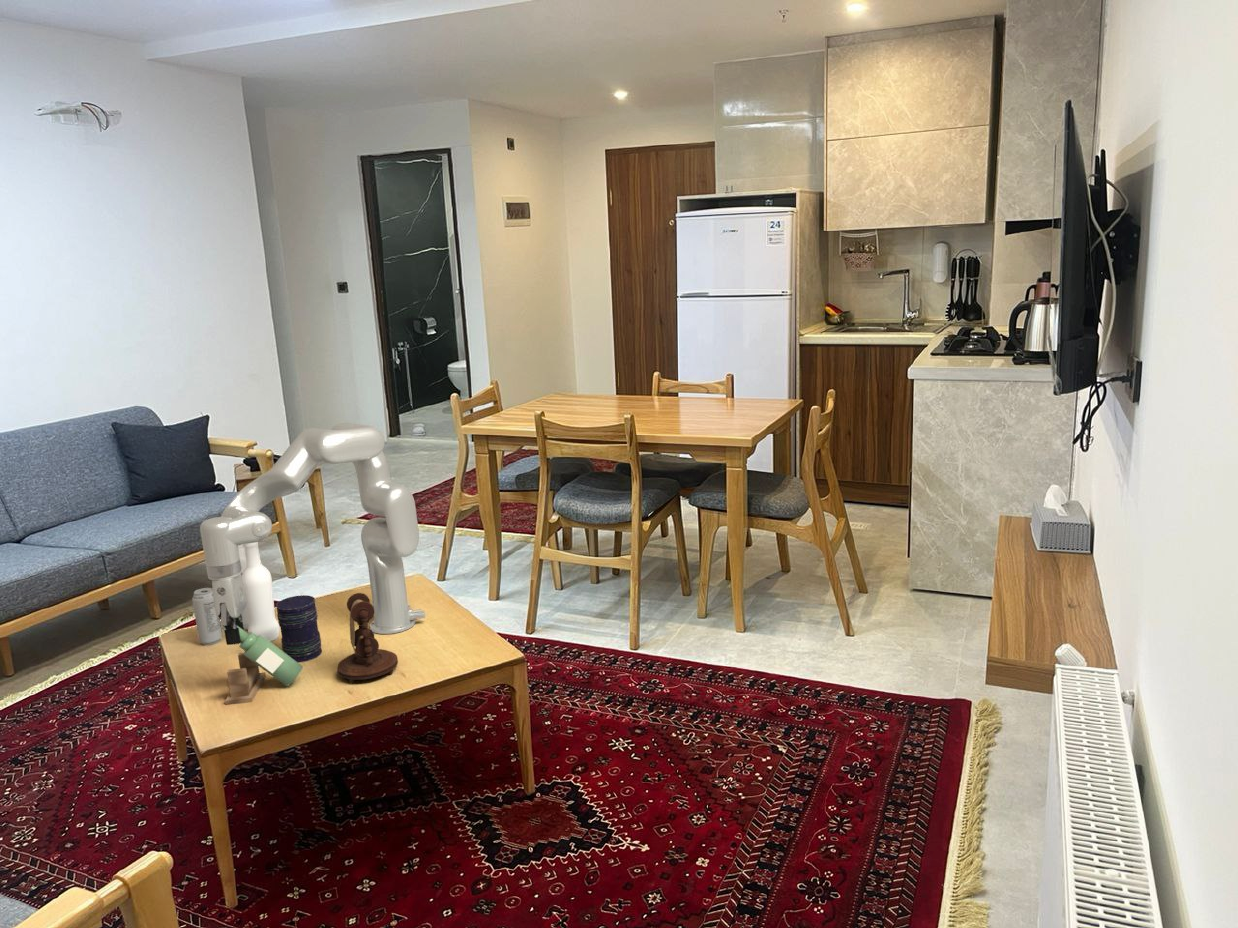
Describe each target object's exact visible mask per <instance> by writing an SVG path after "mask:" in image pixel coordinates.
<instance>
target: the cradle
mask: <svg viewBox="0 0 1238 928" xmlns="http://www.w3.org/2000/svg"><path fill="white" fill-rule="evenodd" d="M243 654H244V652H240V653H238V655H237V658H238V665H239V668H233V669H232V668H231V669H228V670H227V673H226V675H227V681H228V685H229V686H228V687H229V693H228V695H227V697H226V699H225V700H224V701H225V705H226V706H227V705H235V704H236V705H237V704H244V703H252V702H253V701H254V699H255V697H256V695H257V693H258V691H259V690H260V687H261V686H262V684H263V682H264V681H265V679H266V676H267V675H266V674H267V672H266V671H265V672H260V666H258V665H257V664H256V663H254V662H253V661H252V660H250V659H249V658H248V657H246V656H245V655H243Z"/></svg>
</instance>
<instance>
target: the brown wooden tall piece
mask: <svg viewBox="0 0 1238 928" xmlns="http://www.w3.org/2000/svg"><path fill="white" fill-rule="evenodd" d="M346 608H347V610H348V611H349V612H350V613H349V636H350V644H351V646H352V649H353V653H352V654H349V655H348V656H346V657H345V658H343V659H342V660H340V662H339V663H338V664H337V666H336V668H337V669H336V670H337V674H338V675H339V676H340V677H341V678H344V679H347V680H349V682H350V683H351V684H354V682H355V681H357V680H358V681H360V680H370V679H373V678H378V677H380V676H384V675H385V674H389V675H390V676H392V674H393V670H394V669H395V668H396V667H397V665H398V663H399V660H398V659H399V658H398V656H397V654H396V653H394V652H392V651H390V650H386V649H382V648H380V645H379V641H378V640H377V638H375V632H373V631H372V630H371V629H370V627H369V624H370V623H371V620H372V619H373V618H374V607H373V603H371V600H370V598H369V596H368V595H367V594H365V593H363V592H356V593H353V594H352V595H350V597H348V599H347V601H346ZM355 623H356V624H357V625H358V628H357V629H355V628H356V626H355Z"/></svg>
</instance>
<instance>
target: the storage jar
mask: <svg viewBox="0 0 1238 928" xmlns="http://www.w3.org/2000/svg"><path fill="white" fill-rule="evenodd" d="M275 607H276V611H277V614H276V615H277V617H276V618H277V622H278V623H279V628H280V633H281V639H280V641H281V650H282V651H283V652H285V653H286V654H287V655H289V656H290V657H291V658H293V659H294V660H295V661H297V662H298V663H299V664H300V663H304V662H305V663H306V662H309V661H312V660H314V659H317V658H318V657H320V656H321V655H322V653H323V649H322V638H321V633H320V631H319V626H318V613H317V611H318V610H317V606H316V599H315V597H314V596H312V595H305V594H303V595H302V594H301V595H294V596H290V597H286V598H283V599H281V600H279V601H278V602H277V603H276V605H275Z"/></svg>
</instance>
